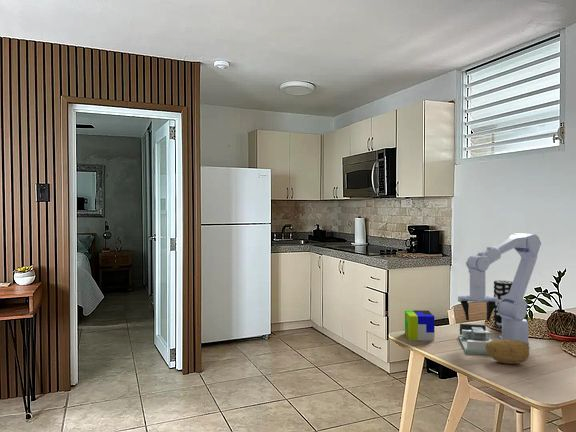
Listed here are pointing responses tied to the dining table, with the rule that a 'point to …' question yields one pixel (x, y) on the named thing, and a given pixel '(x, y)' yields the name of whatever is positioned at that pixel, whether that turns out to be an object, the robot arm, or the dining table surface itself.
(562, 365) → the dining table surface
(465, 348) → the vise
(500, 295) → the white-spotted black cylinder
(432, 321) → the puzzle toy
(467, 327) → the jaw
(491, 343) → the potato
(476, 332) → the steel block
